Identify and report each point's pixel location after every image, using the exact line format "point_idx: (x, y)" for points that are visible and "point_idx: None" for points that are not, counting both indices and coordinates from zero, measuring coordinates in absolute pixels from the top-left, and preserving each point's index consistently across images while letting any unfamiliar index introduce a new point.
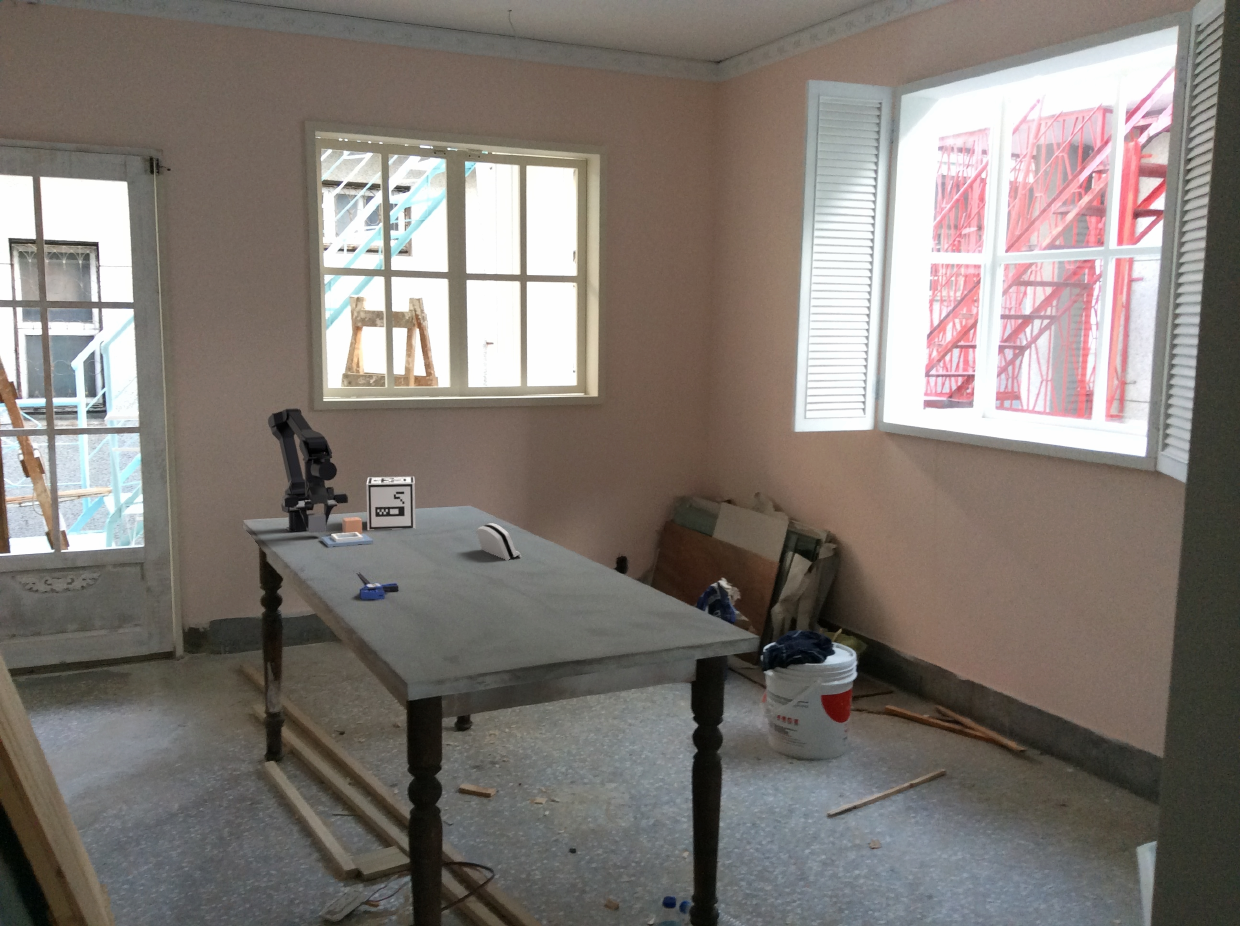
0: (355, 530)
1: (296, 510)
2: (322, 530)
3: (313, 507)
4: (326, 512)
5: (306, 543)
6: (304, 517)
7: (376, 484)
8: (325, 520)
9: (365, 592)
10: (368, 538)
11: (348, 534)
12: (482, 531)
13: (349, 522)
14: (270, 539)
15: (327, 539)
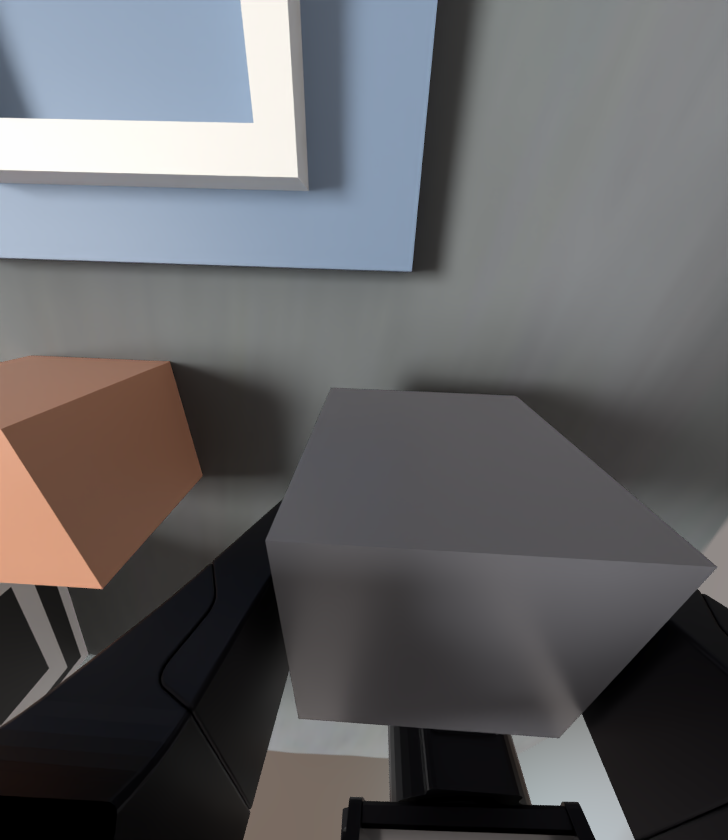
0: (36, 372)
1: (499, 823)
2: (369, 393)
3: (342, 837)
4: (215, 655)
5: (613, 161)
6: (699, 601)
7: None
8: (305, 459)
9: None
10: None
11: (59, 126)
12: None
13: None
14: (720, 501)
15: (383, 16)
